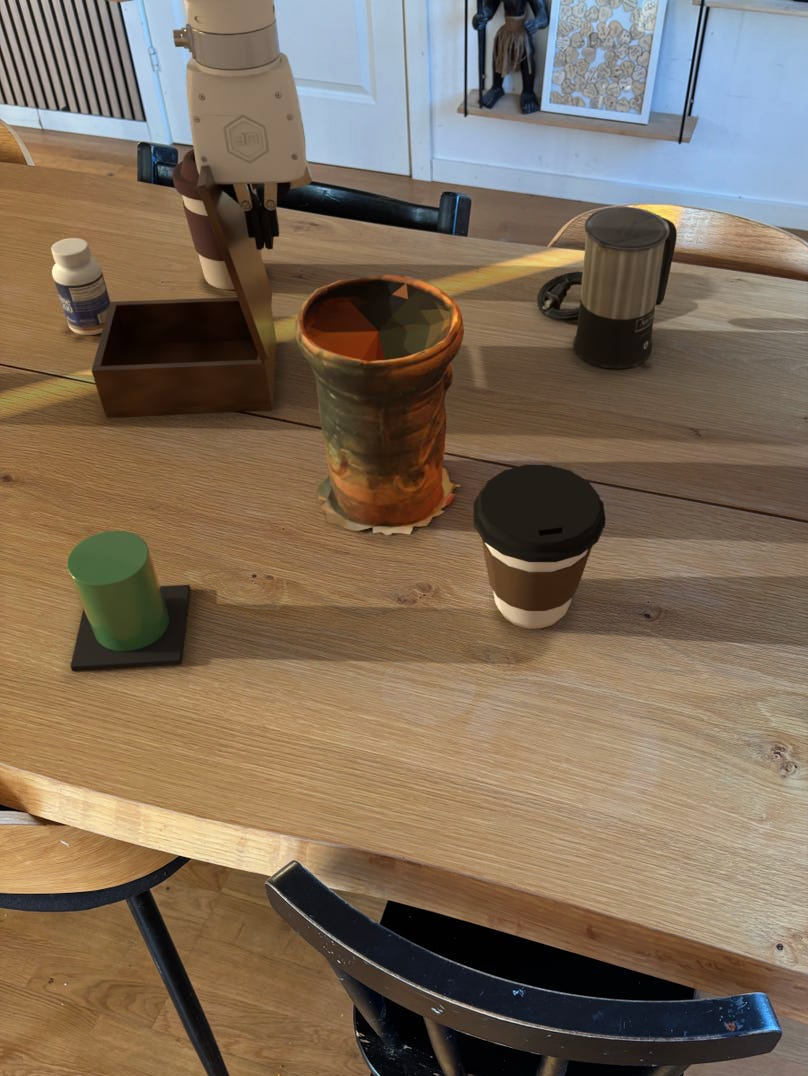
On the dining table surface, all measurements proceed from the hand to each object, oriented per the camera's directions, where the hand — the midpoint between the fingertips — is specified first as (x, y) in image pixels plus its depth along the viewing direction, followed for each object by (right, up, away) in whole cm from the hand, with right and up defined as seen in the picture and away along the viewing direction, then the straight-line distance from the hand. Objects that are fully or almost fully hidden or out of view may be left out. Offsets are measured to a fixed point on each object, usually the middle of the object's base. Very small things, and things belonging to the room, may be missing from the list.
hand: (265, 242), depth 103 cm
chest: (-10, -11, +11) cm, 18 cm away
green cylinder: (-8, -39, -15) cm, 43 cm away
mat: (-8, -39, -15) cm, 43 cm away
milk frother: (+35, -4, +18) cm, 40 cm away
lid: (-3, 0, 0) cm, 3 cm away
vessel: (+13, -26, -2) cm, 29 cm away
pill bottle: (-24, -3, +18) cm, 30 cm away
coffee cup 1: (-9, +6, +26) cm, 28 cm away
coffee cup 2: (+26, -37, -12) cm, 47 cm away
